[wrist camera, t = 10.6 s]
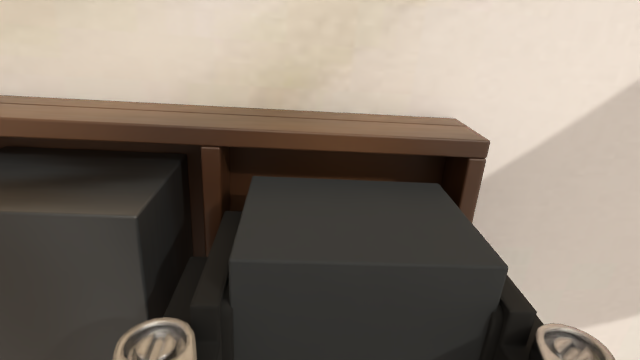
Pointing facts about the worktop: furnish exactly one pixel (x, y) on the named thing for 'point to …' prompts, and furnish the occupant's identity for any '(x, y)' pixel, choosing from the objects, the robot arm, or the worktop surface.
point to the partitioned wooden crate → (168, 199)
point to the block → (359, 273)
